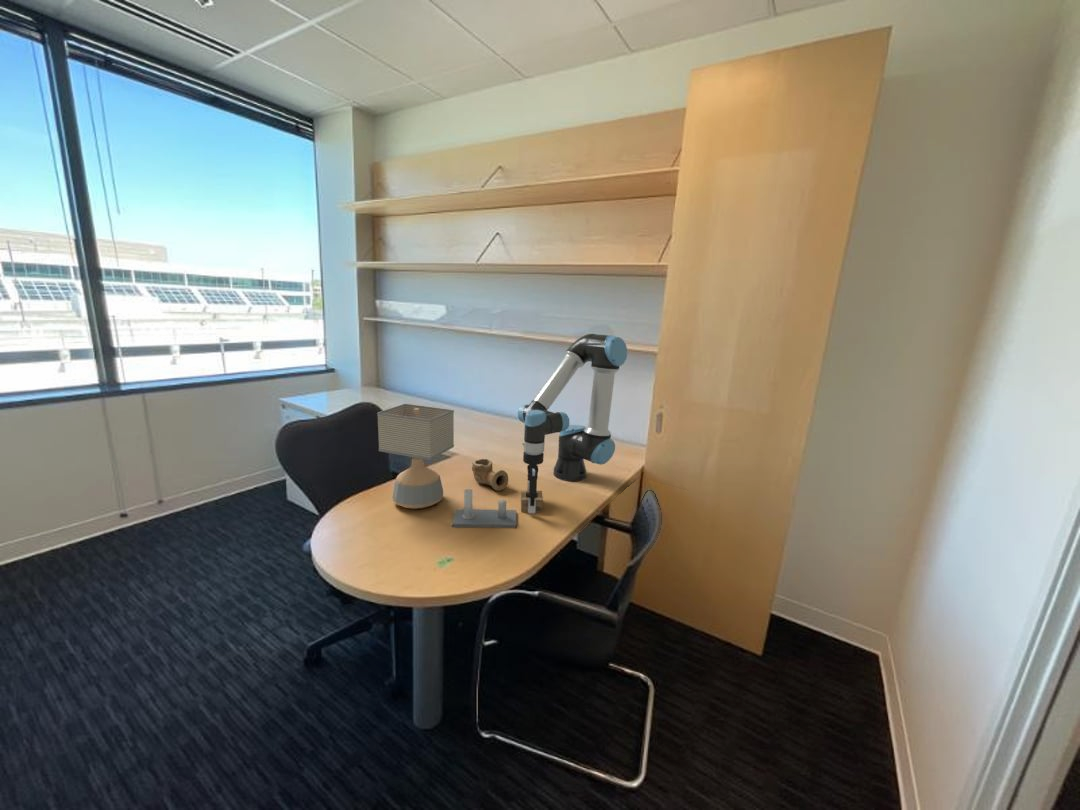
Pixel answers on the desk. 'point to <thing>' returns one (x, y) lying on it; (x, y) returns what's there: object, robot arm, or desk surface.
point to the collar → (525, 499)
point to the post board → (483, 515)
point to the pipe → (489, 474)
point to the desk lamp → (416, 449)
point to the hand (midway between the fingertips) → (530, 504)
